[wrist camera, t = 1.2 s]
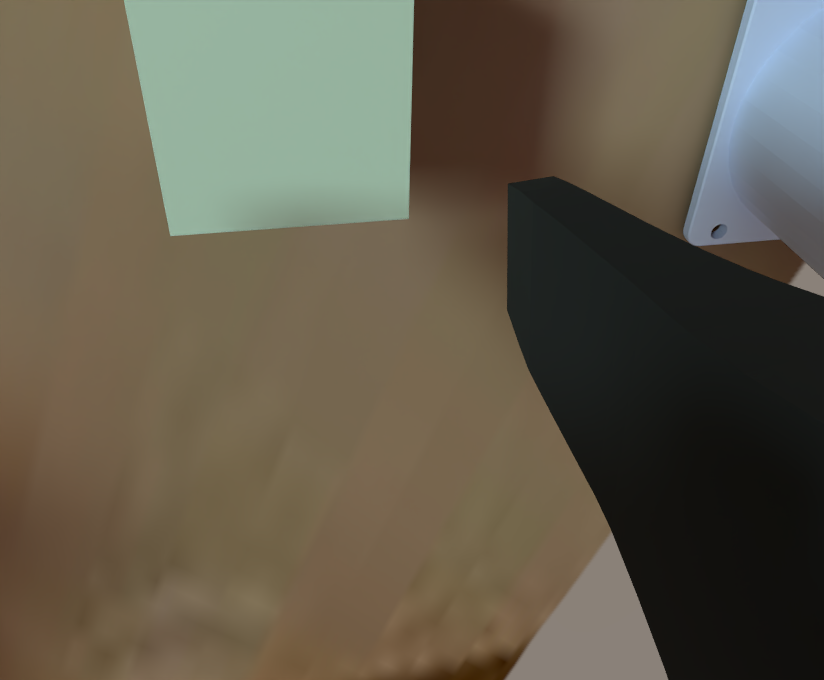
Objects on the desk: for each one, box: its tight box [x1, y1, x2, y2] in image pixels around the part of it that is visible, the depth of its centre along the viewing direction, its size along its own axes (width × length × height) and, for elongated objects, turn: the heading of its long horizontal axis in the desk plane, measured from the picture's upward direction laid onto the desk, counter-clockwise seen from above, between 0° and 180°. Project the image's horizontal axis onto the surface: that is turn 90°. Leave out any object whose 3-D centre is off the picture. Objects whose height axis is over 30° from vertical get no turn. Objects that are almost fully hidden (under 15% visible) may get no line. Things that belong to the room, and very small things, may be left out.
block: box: [124, 0, 414, 236], centre depth 15 cm, size 4×4×6 cm
